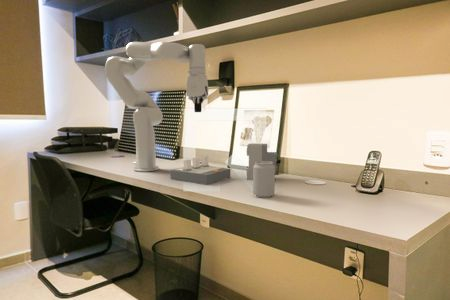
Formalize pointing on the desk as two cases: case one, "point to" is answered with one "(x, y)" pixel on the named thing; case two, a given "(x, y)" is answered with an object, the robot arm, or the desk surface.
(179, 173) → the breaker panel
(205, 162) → the handle
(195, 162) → the handle
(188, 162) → the handle
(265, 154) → the circuit breaker
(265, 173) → the can
